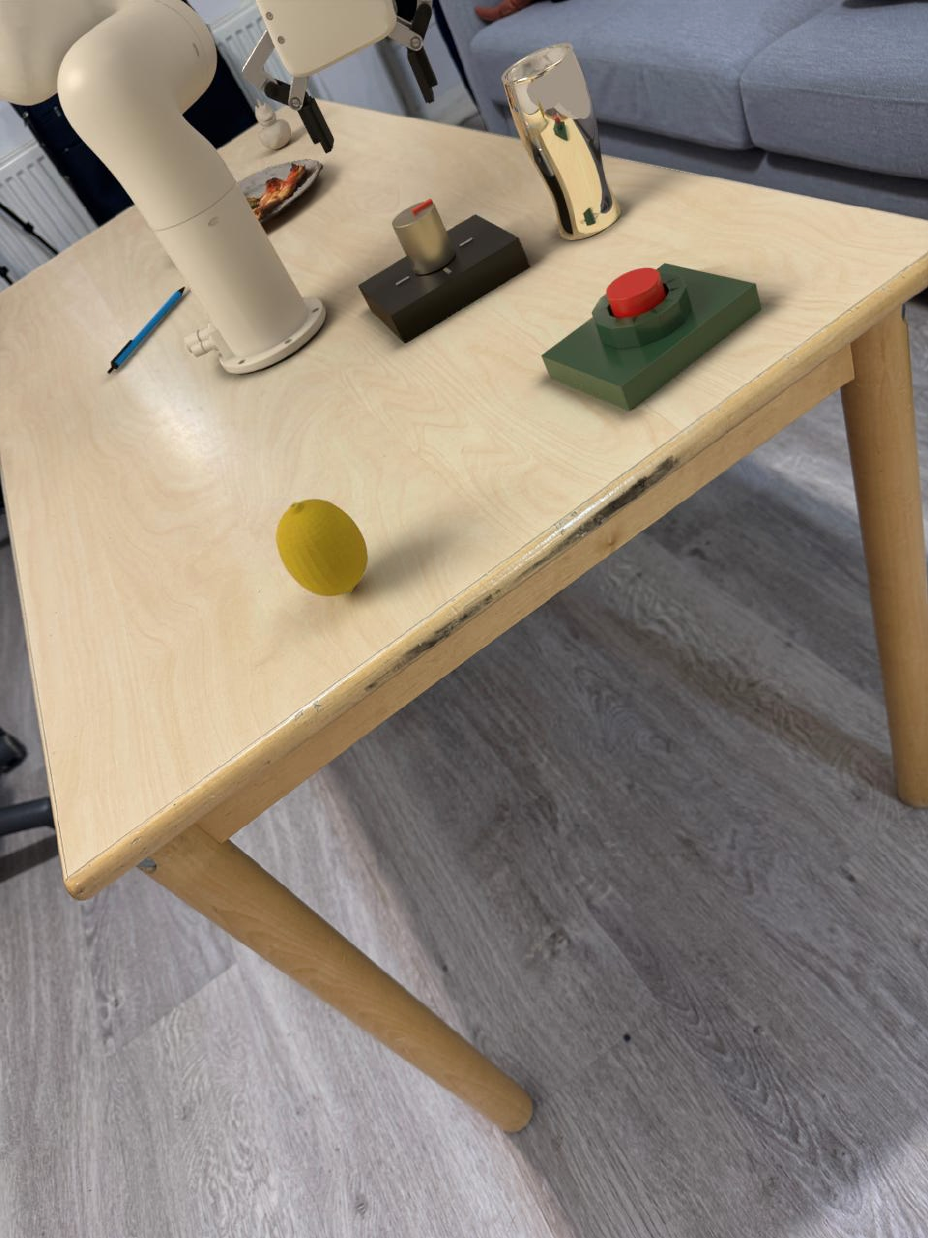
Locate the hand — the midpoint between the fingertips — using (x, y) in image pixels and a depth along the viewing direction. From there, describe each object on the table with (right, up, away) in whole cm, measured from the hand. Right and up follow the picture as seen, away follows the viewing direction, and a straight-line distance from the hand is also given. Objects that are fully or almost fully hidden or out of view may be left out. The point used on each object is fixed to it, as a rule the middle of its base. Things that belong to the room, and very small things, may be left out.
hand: (379, 123), depth 85 cm
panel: (+6, -10, +12) cm, 17 cm away
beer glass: (+19, -5, +9) cm, 22 cm away
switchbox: (+22, -22, -10) cm, 33 cm away
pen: (-32, -6, +40) cm, 52 cm away
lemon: (-1, -41, -16) cm, 44 cm away
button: (+20, -20, -13) cm, 31 cm away
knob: (+4, -8, +10) cm, 14 cm away
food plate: (-23, +15, +57) cm, 64 cm away
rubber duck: (-23, +36, +79) cm, 90 cm away
